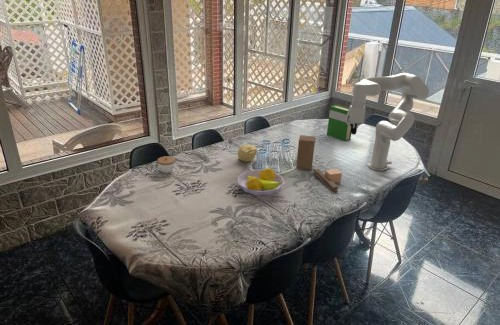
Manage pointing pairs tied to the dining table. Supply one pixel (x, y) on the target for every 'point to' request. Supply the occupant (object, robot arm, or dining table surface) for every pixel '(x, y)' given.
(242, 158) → the pale yellow lumpy ball
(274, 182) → the fruit bowl
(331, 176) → the block
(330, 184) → the brown wooden bar
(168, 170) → the lidded jar
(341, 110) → the hardback book
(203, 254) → the dining table surface
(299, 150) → the wooden block
